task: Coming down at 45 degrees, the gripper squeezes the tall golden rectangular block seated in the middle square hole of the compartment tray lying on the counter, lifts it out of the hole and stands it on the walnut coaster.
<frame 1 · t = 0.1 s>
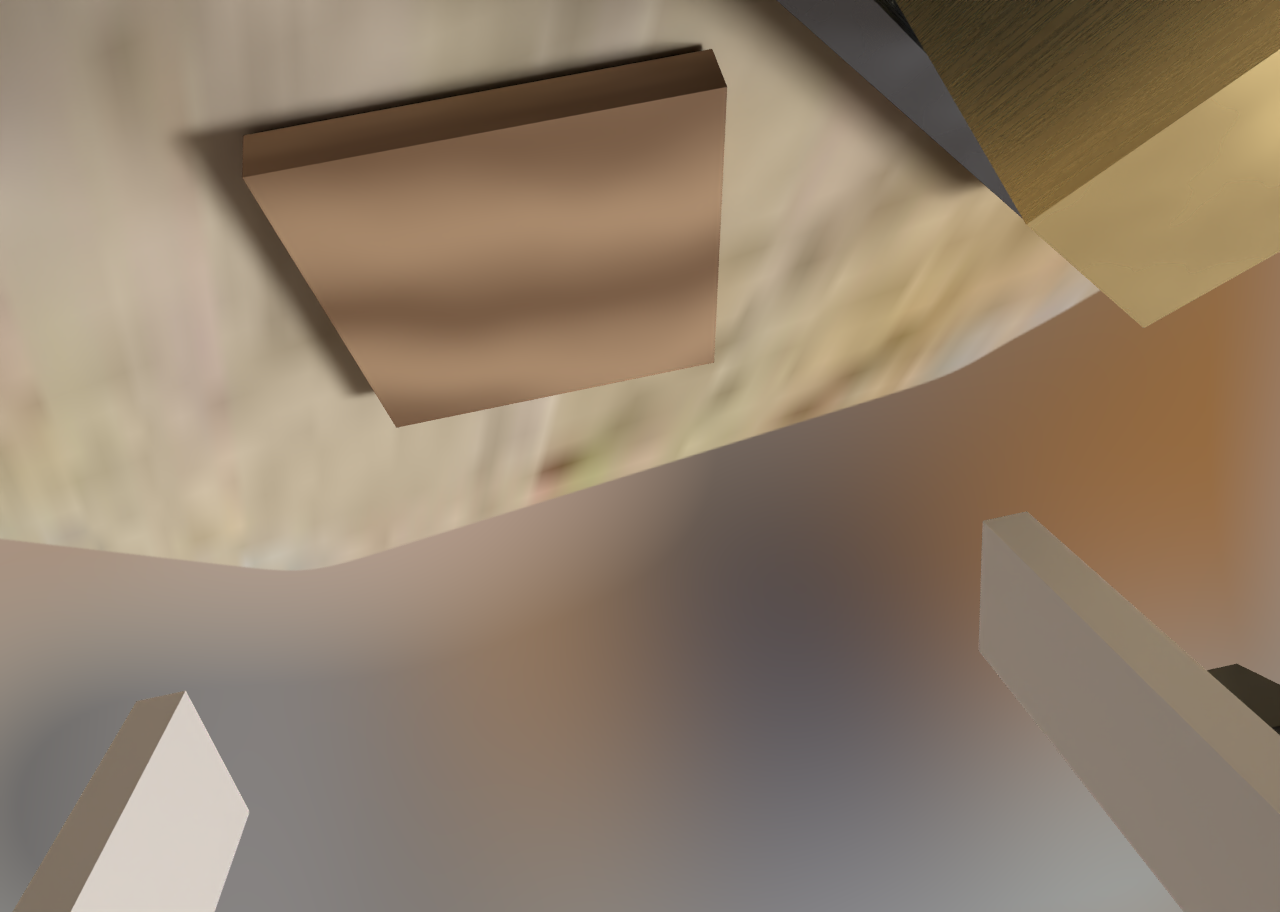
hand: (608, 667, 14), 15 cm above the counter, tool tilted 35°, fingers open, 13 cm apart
coaster: (522, 254, 26), on the counter
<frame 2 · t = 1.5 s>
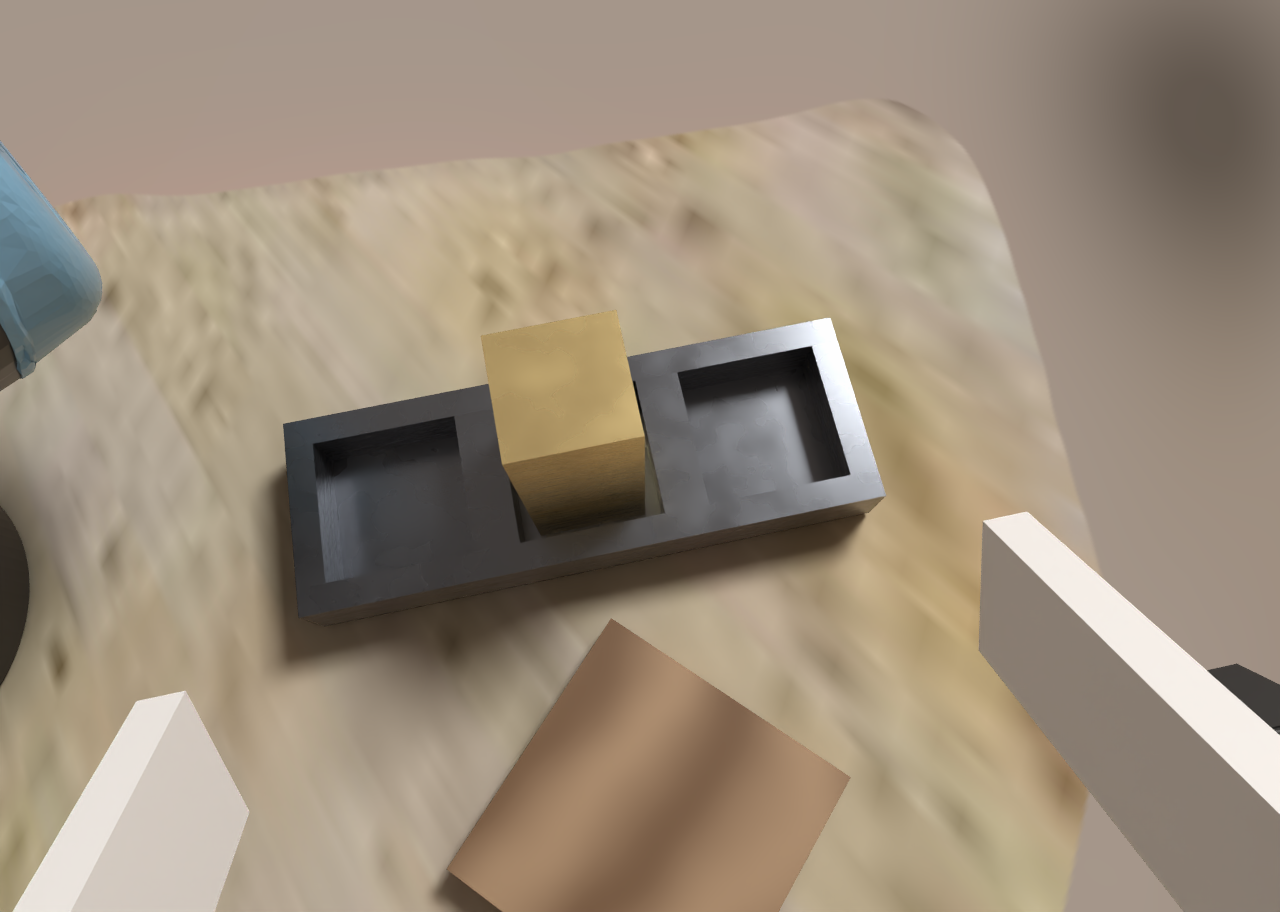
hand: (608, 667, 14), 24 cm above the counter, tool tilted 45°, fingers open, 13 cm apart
golden rectangular block: (583, 475, 40), resting on compartment tray
compartment tray: (584, 478, 40), on the counter
coaster: (651, 819, 36), on the counter
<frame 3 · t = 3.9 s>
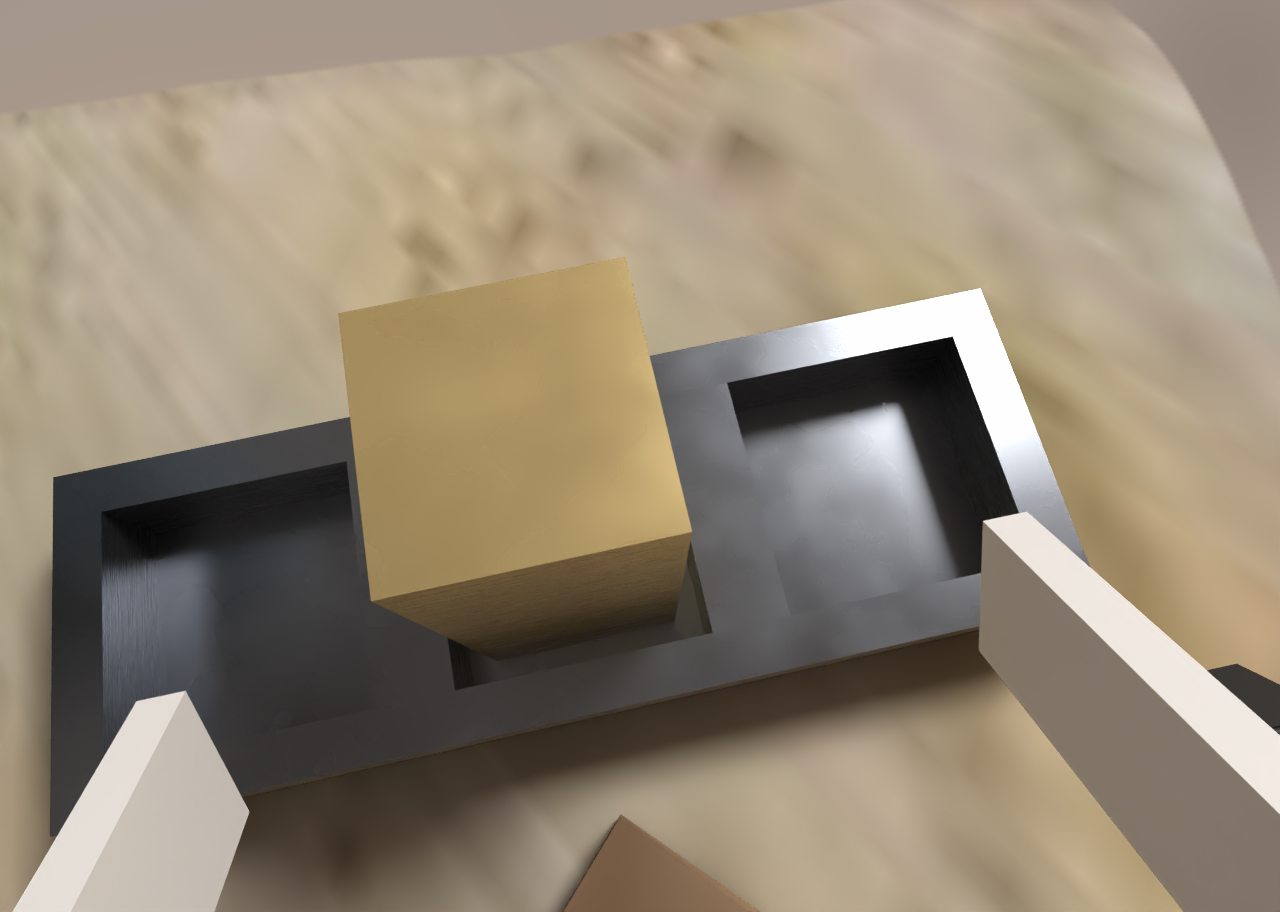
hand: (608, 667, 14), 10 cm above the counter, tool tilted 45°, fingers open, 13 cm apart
golden rectangular block: (569, 555, 24), resting on compartment tray
compartment tray: (571, 558, 24), on the counter
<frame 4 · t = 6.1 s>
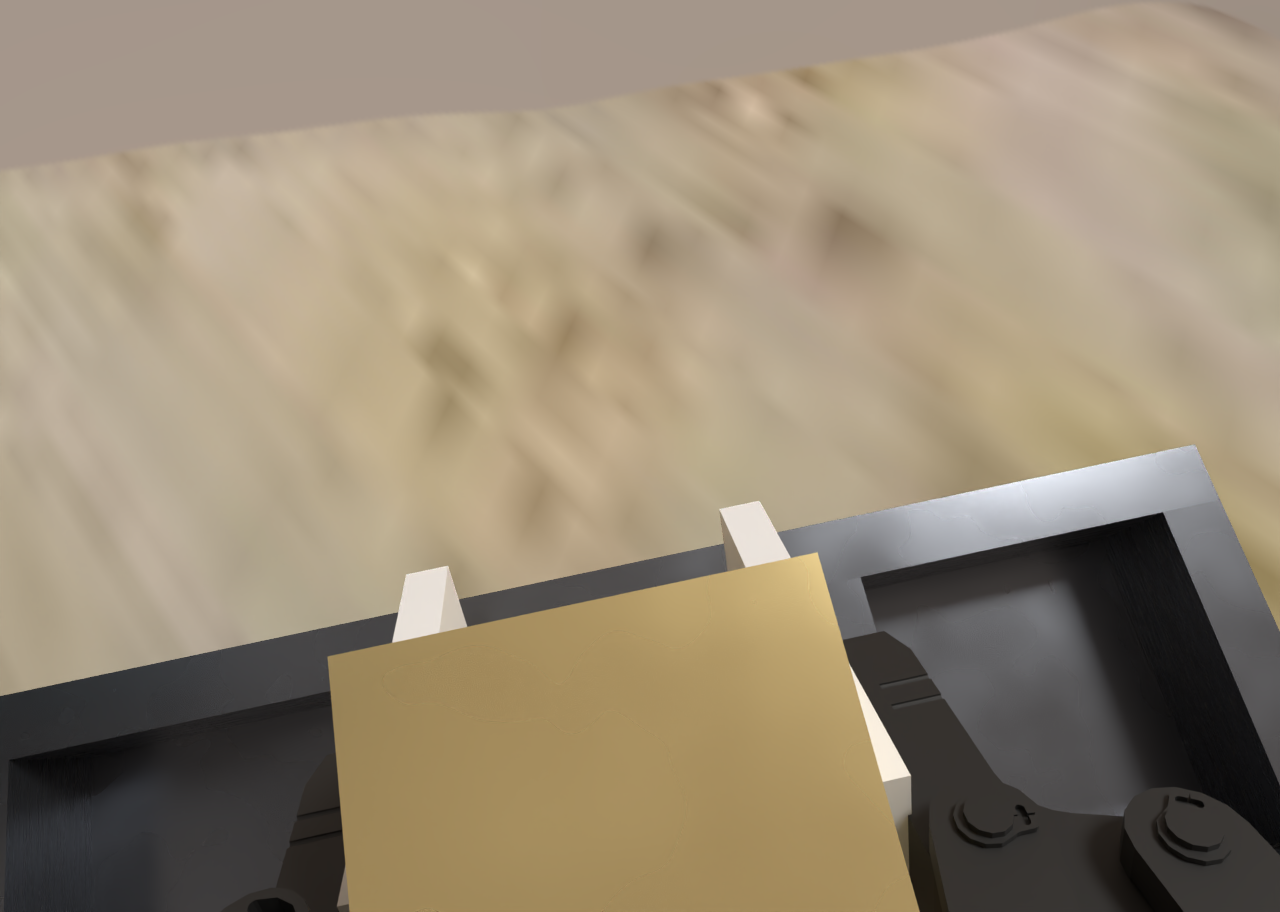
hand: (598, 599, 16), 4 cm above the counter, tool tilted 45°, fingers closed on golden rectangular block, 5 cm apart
golden rectangular block: (642, 795, 18), point 1 cm above the counter, touching gripper, compartment tray
compartment tray: (642, 793, 18), on the counter
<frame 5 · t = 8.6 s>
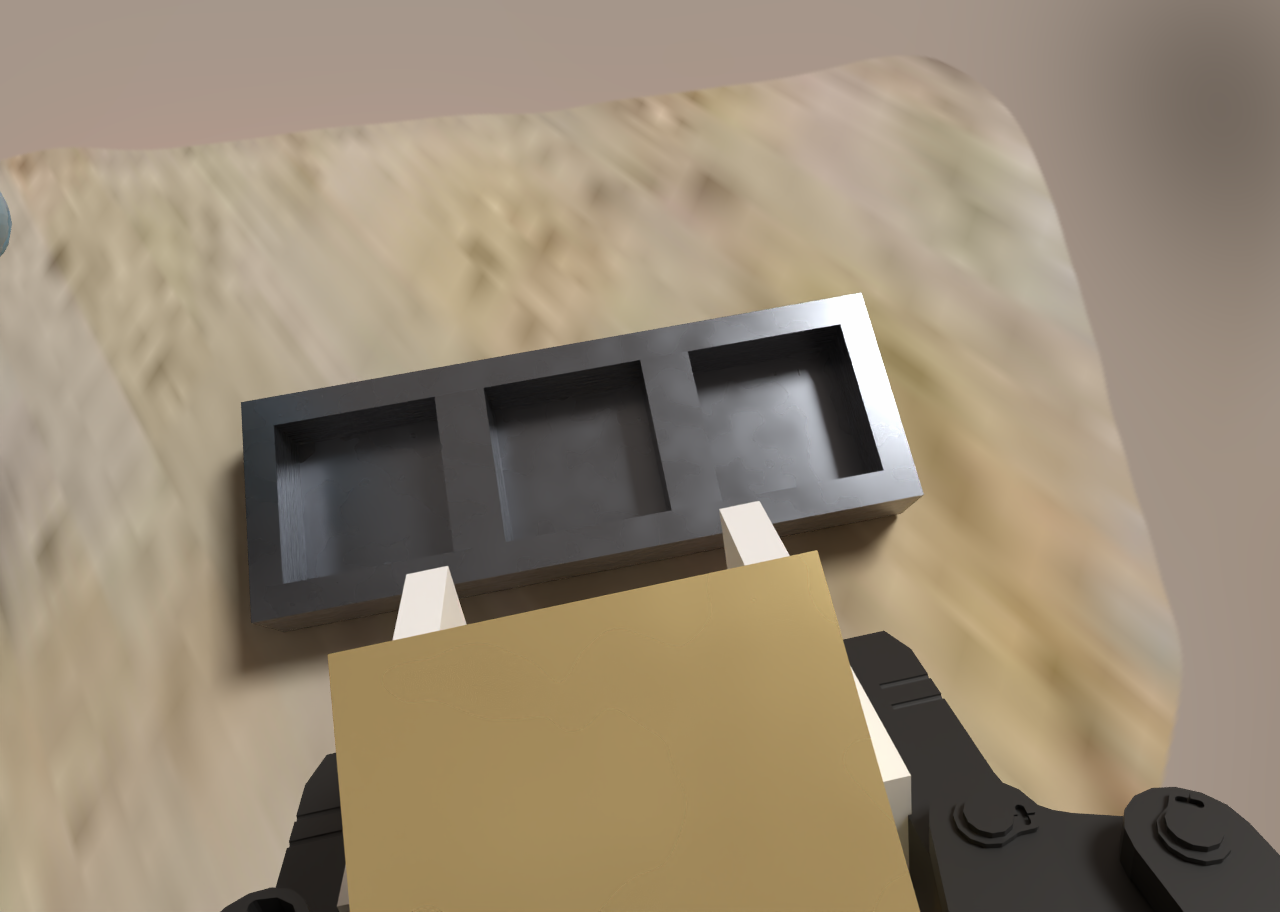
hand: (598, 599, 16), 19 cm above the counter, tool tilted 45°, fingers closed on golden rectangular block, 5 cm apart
golden rectangular block: (642, 794, 18), point 15 cm above the counter, touching gripper
compartment tray: (580, 469, 36), on the counter
when the fingers open (6 cm above the counter, at t = 11.4 s): golden rectangular block stays where it is, resting on coaster.
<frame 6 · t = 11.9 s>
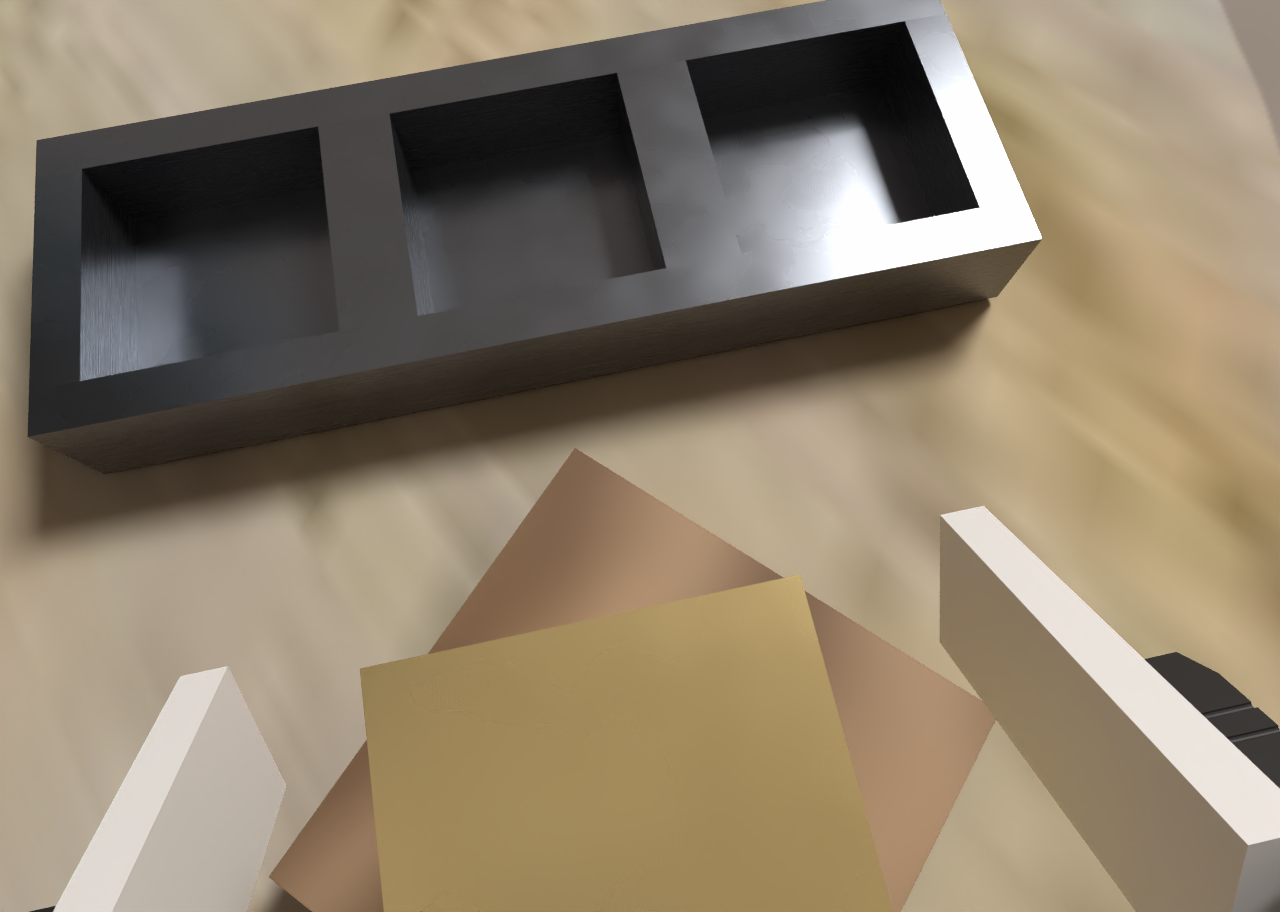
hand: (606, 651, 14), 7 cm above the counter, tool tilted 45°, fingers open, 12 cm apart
golden rectangular block: (642, 794, 19), point 1 cm above the counter, touching coaster
compartment tray: (537, 249, 25), on the counter
coaster: (643, 788, 20), on the counter
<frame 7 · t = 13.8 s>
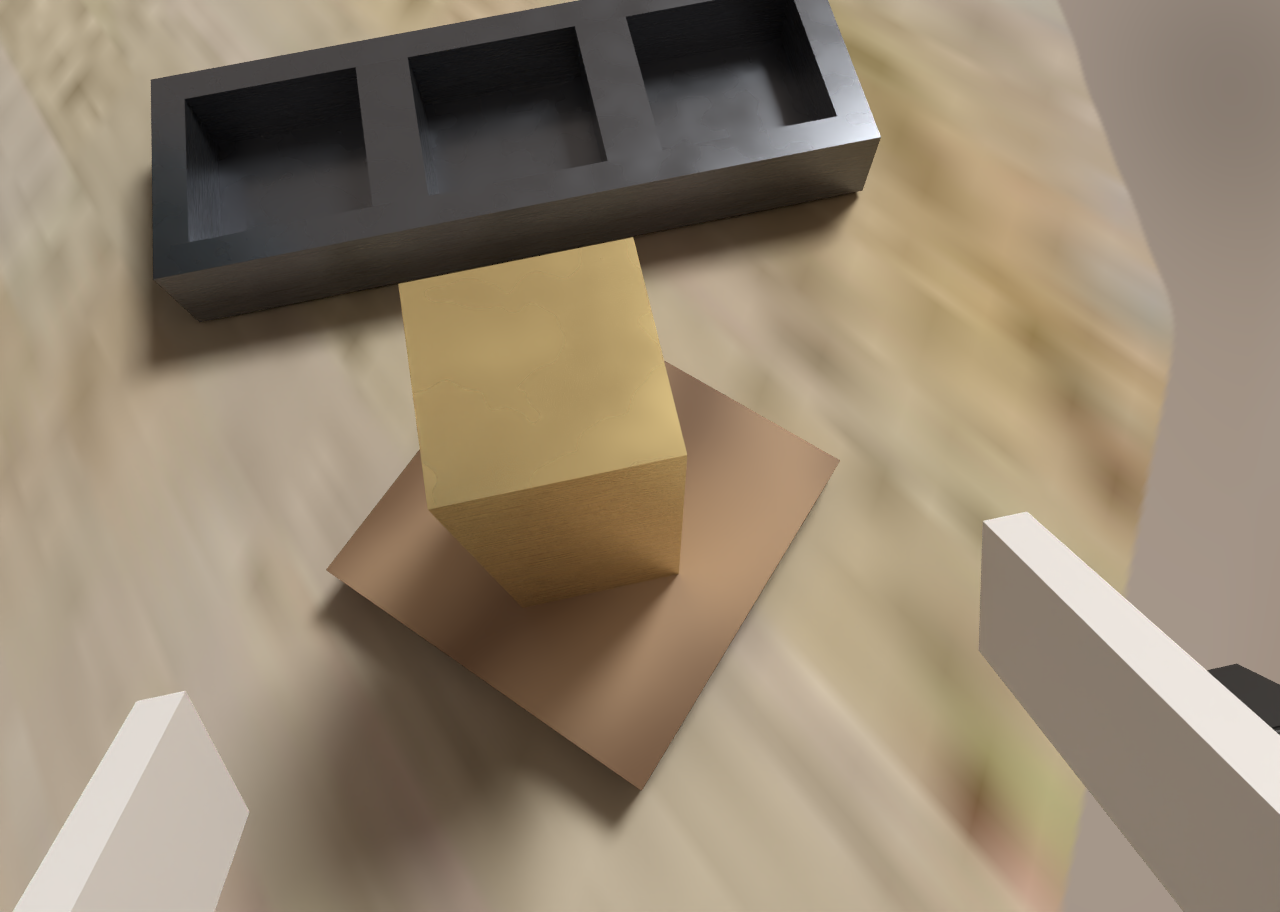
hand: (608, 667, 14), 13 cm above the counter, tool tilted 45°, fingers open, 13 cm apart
golden rectangular block: (586, 515, 27), point 1 cm above the counter, touching coaster
compartment tray: (518, 161, 34), on the counter
coaster: (590, 526, 28), on the counter
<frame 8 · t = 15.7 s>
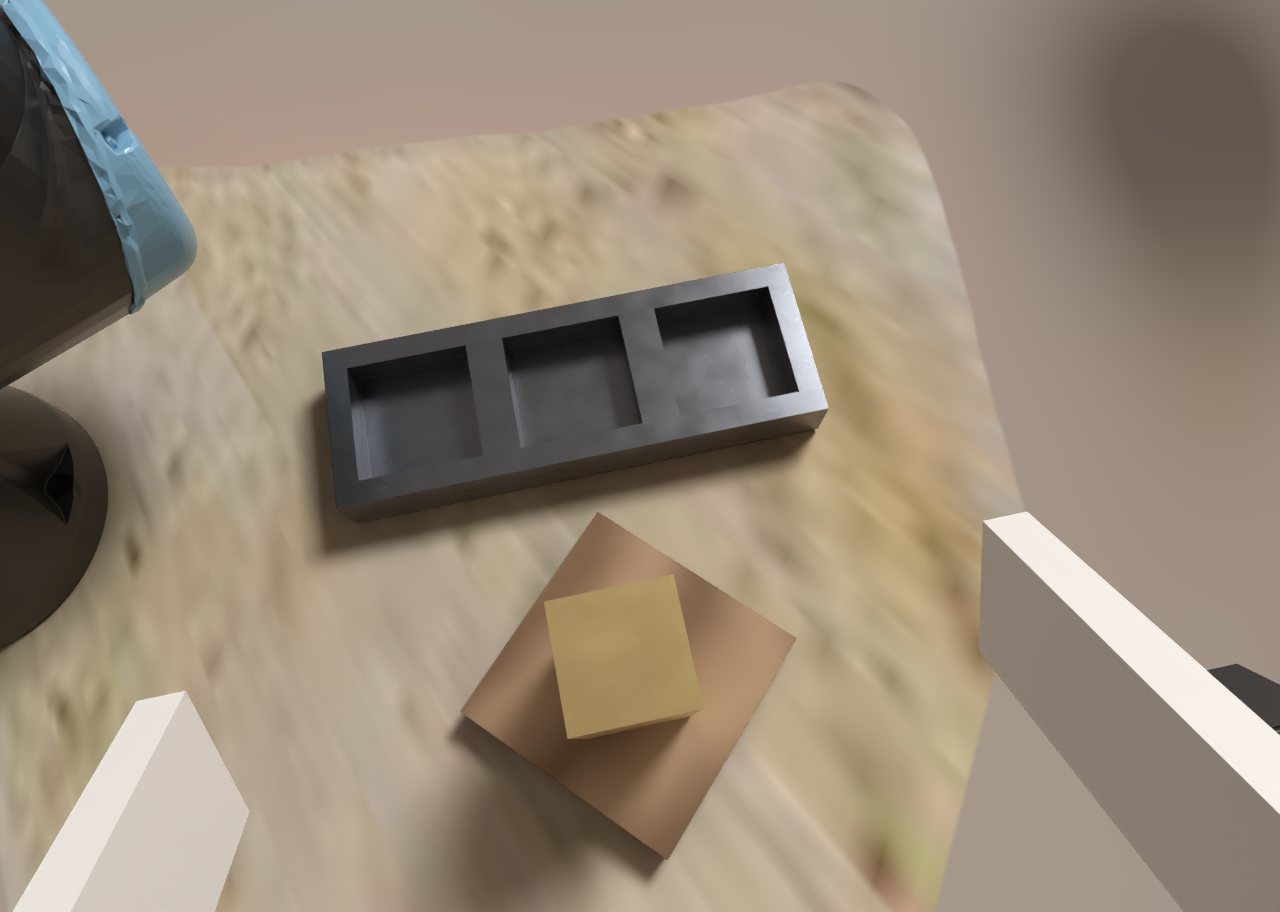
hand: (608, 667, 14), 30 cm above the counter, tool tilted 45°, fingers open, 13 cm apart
golden rectangular block: (630, 675, 41), point 1 cm above the counter, touching coaster
compartment tray: (575, 401, 47), on the counter
coaster: (631, 676, 43), on the counter
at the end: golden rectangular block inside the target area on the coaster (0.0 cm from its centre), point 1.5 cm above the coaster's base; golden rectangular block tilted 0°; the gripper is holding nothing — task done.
